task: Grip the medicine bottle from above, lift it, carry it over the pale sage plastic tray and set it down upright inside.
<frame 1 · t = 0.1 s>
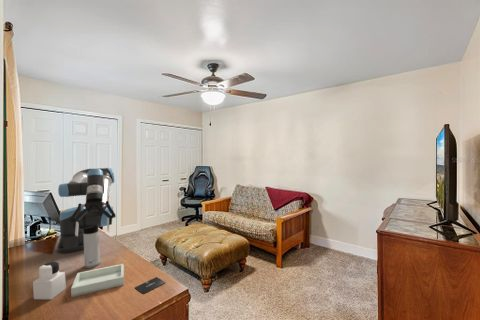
hand: (92, 233, 117), 15 cm above the table, tool tilted 35°, fingers open, 13 cm apart
tray: (100, 282, 100), on the table
travel mug: (92, 265, 115), on the table
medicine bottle: (50, 294, 92), on the table
solid state drive: (150, 286, 97), on the table
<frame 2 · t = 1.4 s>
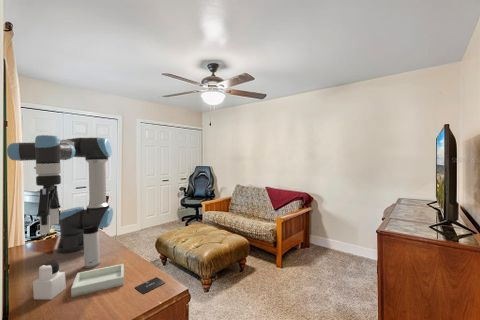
hand: (50, 228, 92), 26 cm above the table, tool pointing down, fingers open, 13 cm apart
nothing on the table moved.
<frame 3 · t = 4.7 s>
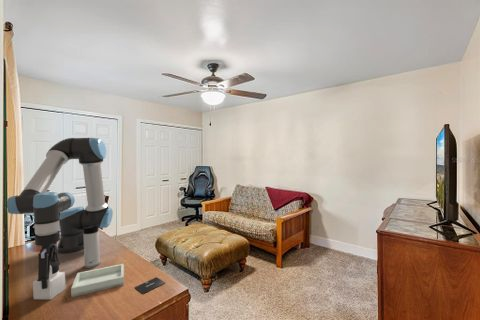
hand: (49, 288, 92), 2 cm above the table, tool pointing down, fingers closed on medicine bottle, 9 cm apart
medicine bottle: (50, 294, 92), on the table, touching gripper
everything else where it was.
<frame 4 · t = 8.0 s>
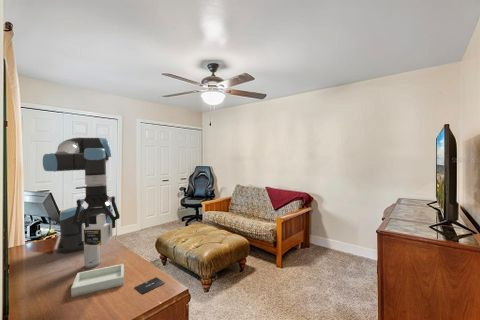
hand: (98, 237, 99), 20 cm above the table, tool pointing down, fingers closed on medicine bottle, 9 cm apart
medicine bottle: (98, 243, 99), point 17 cm above the table, touching gripper
everything else where it was.
when the fingers open (5 cm above the table, at t = 11.6 s): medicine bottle drops 2 cm, resting on tray.
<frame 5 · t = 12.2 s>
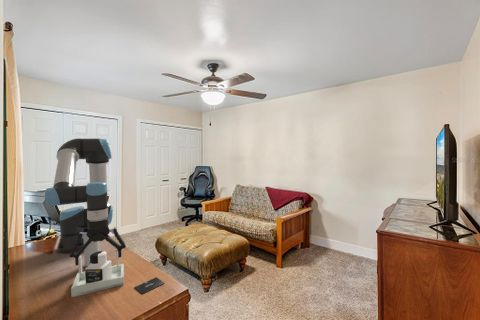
hand: (99, 268, 99), 6 cm above the table, tool pointing down, fingers open, 13 cm apart
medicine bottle: (99, 281, 100), point 1 cm above the table, touching tray
everything else where it was.
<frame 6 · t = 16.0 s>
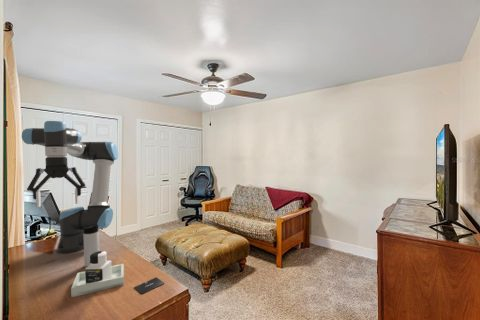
hand: (58, 204, 103), 33 cm above the table, tool pointing down, fingers open, 13 cm apart
nothing on the table moved.
at the end: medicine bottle inside the target area on the tray (0.3 cm from its centre), point 0.8 cm above the tray's base; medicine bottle tilted 0°; the gripper is holding nothing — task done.
